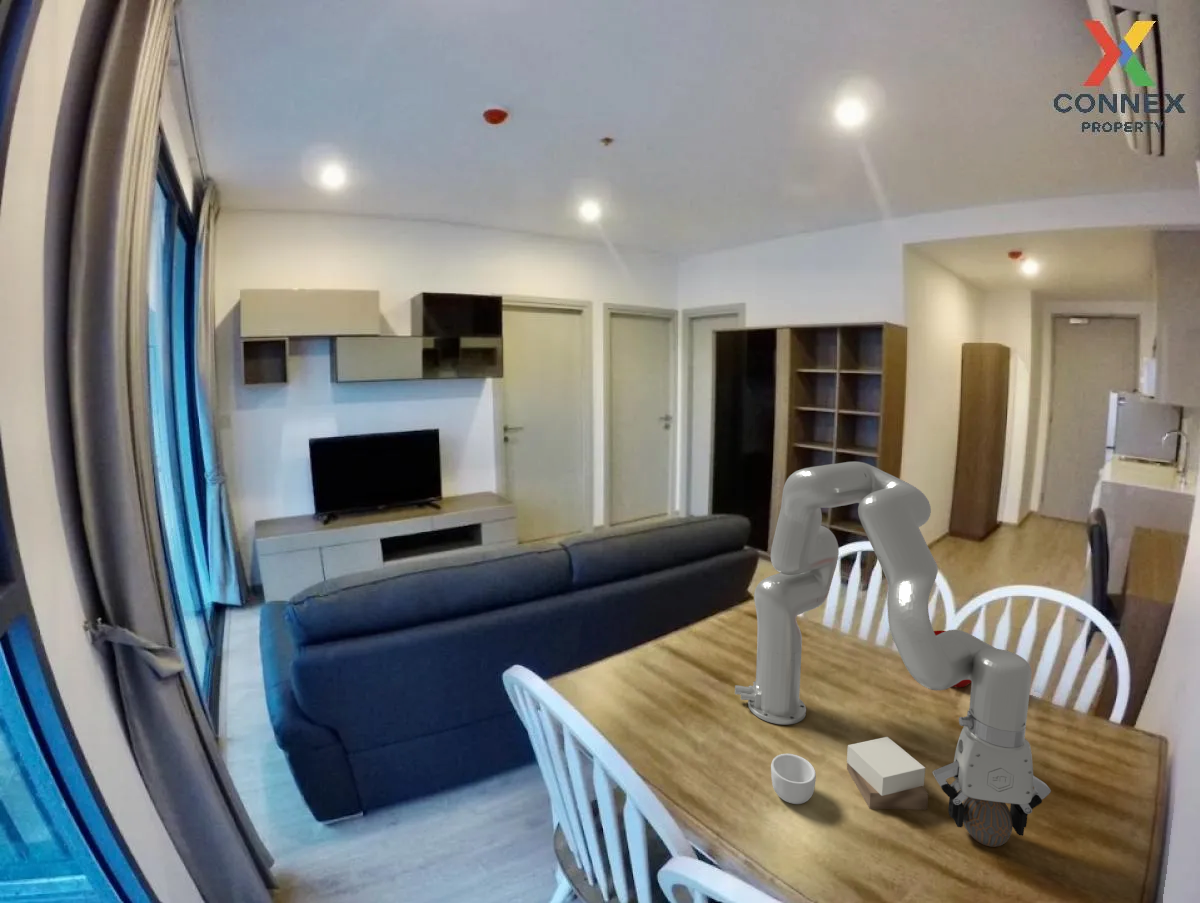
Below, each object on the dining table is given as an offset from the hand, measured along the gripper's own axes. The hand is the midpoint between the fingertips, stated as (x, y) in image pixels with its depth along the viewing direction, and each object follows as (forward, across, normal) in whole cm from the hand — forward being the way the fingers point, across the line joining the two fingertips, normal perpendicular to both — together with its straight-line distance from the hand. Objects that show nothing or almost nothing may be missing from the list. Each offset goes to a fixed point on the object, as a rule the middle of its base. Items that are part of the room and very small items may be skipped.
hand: (985, 824), depth 95 cm
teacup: (+3, -30, +5) cm, 31 cm away
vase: (+3, 0, 0) cm, 3 cm away
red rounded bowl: (+2, +15, +53) cm, 55 cm away
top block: (-1, -13, +9) cm, 16 cm away
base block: (+3, -13, +9) cm, 16 cm away
